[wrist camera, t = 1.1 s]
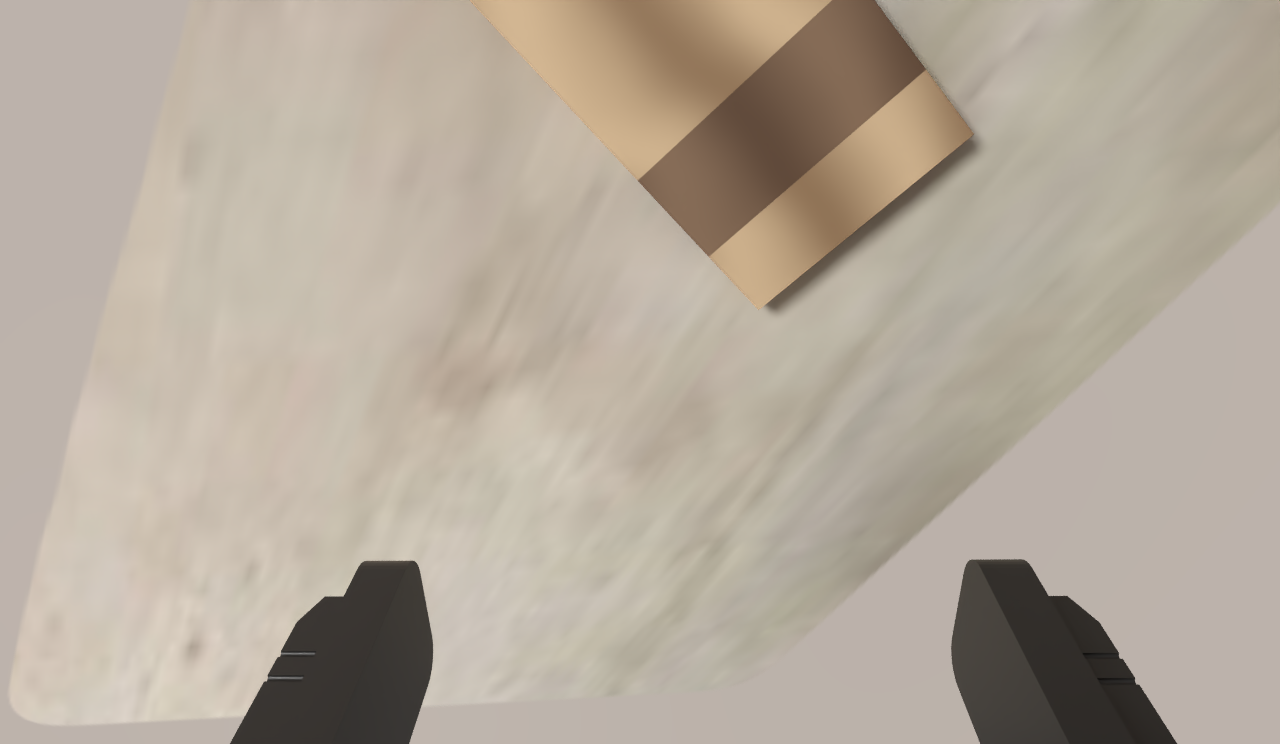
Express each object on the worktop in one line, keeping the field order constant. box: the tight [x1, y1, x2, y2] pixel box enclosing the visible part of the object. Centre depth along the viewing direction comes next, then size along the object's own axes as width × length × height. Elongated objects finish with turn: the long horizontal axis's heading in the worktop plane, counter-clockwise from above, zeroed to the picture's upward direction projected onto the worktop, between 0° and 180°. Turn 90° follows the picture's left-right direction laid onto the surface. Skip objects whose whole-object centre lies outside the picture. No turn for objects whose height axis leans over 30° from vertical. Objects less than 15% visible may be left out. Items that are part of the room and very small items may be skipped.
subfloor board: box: [470, 0, 974, 310], centre depth 29 cm, size 10×20×2 cm, turn 43°
